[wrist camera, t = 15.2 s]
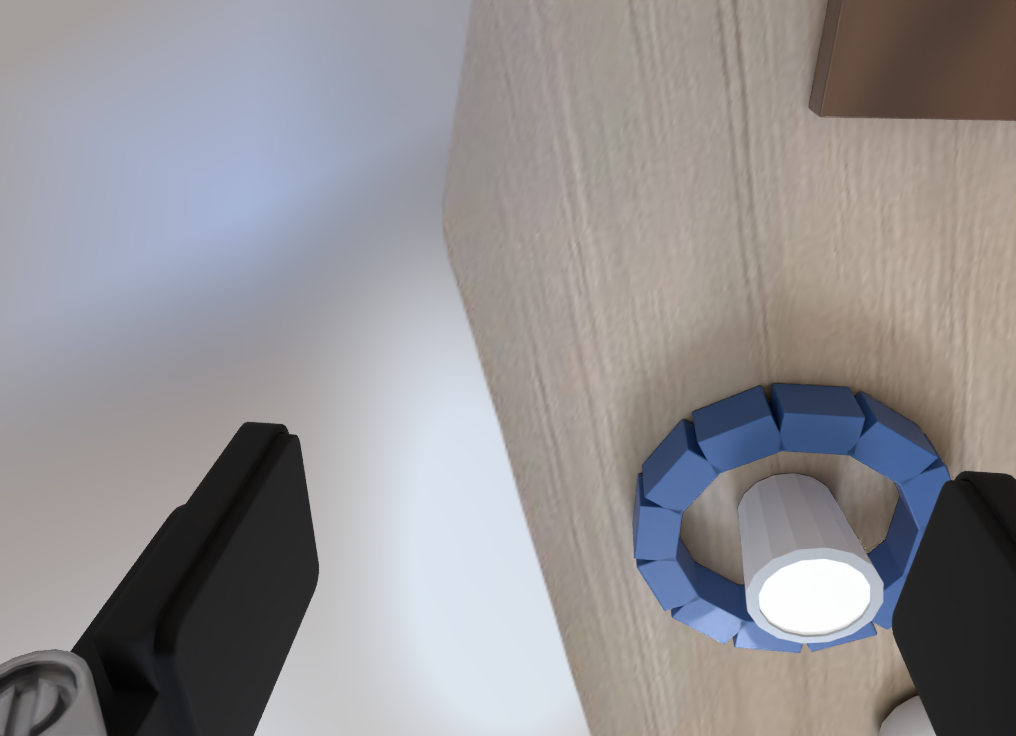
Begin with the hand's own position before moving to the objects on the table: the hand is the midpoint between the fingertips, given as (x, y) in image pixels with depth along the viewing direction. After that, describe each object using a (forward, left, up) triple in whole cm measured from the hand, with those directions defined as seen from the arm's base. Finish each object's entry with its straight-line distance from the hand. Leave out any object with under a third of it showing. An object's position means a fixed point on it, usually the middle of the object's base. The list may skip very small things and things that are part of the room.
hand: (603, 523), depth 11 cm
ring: (+12, -22, -26) cm, 36 cm away
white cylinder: (+12, -22, -28) cm, 38 cm away
